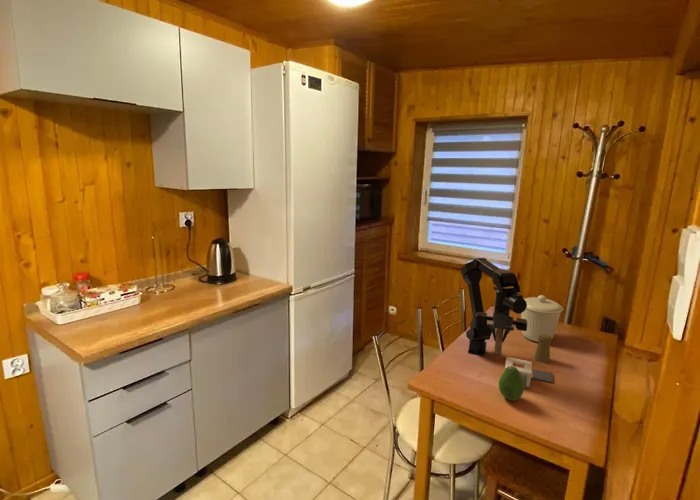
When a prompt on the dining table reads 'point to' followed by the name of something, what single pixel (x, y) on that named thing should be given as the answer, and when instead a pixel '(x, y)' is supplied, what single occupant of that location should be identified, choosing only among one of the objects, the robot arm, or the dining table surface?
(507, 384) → the fruit
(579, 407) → the dining table surface
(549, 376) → the pad
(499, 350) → the cylinder
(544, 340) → the cork
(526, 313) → the canister
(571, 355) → the dining table surface
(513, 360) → the guard
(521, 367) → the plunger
